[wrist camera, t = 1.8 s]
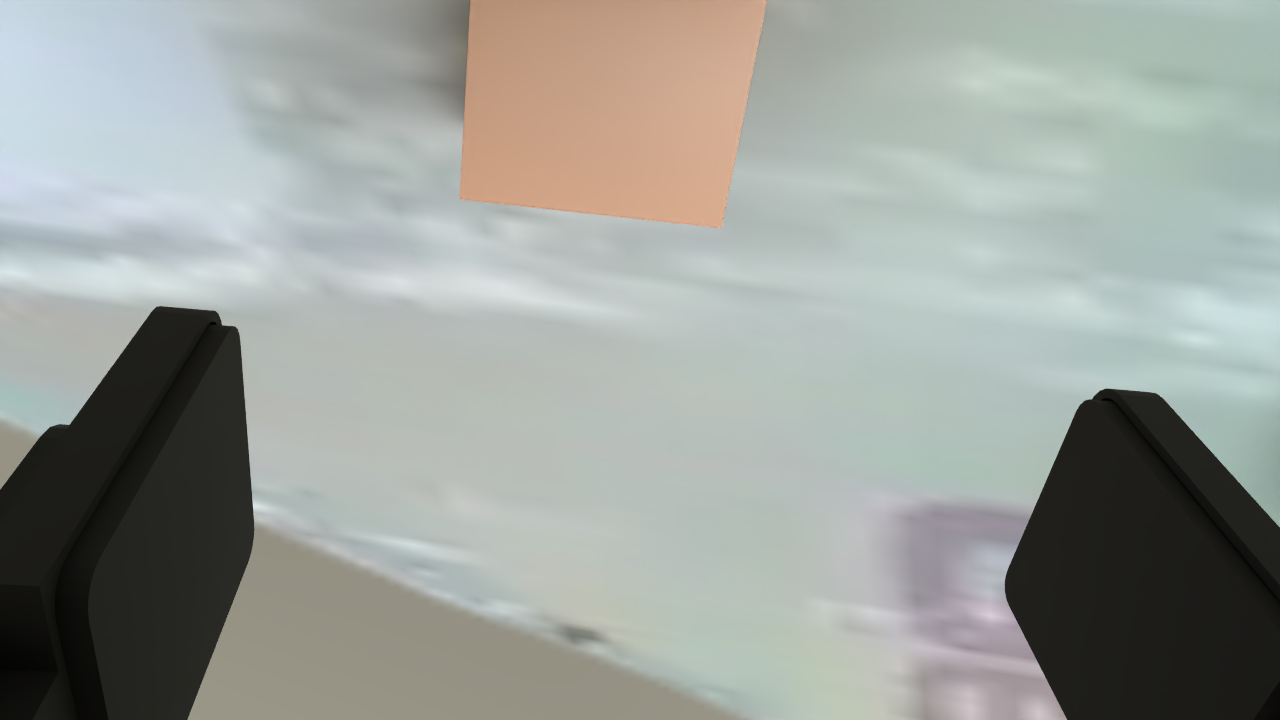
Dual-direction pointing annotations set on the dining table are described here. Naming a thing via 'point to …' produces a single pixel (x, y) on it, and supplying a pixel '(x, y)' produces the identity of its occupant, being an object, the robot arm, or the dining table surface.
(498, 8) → the peach cube
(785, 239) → the dining table surface
